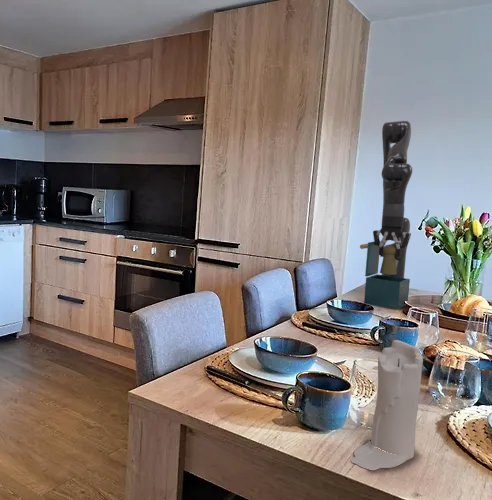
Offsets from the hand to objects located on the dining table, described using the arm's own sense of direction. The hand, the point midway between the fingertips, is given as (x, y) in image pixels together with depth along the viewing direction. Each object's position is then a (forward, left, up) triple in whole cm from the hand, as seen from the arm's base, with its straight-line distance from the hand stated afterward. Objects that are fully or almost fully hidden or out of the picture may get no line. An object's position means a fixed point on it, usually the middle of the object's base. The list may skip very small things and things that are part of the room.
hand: (389, 257), depth 200 cm
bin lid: (0, -6, -1) cm, 6 cm away
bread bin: (0, 0, -19) cm, 19 cm away
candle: (+119, +43, -19) cm, 128 cm away
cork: (0, 0, -7) cm, 7 cm away
